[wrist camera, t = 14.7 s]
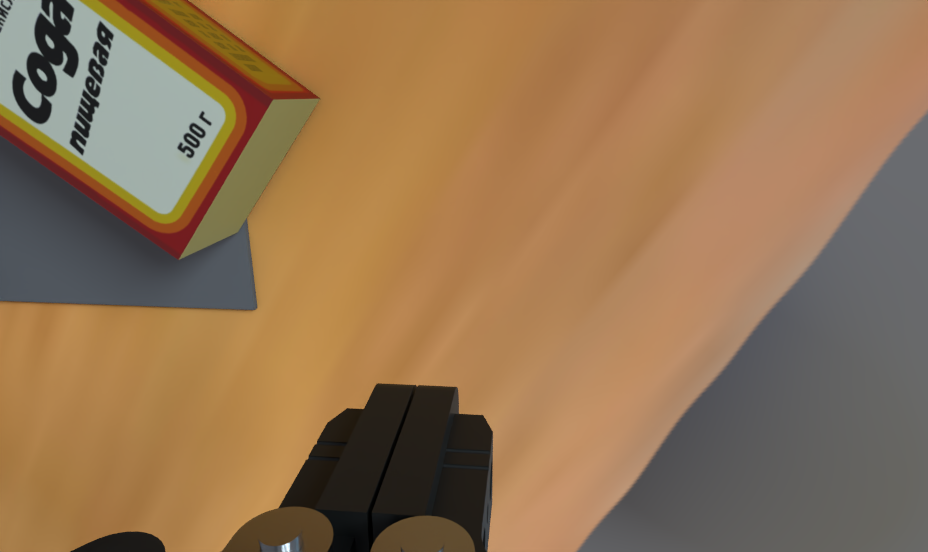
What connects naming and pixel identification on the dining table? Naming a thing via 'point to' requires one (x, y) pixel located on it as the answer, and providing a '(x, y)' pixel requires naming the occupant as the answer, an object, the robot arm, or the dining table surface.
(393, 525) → the robot arm
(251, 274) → the bookend
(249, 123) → the baking soda box
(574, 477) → the dining table surface
